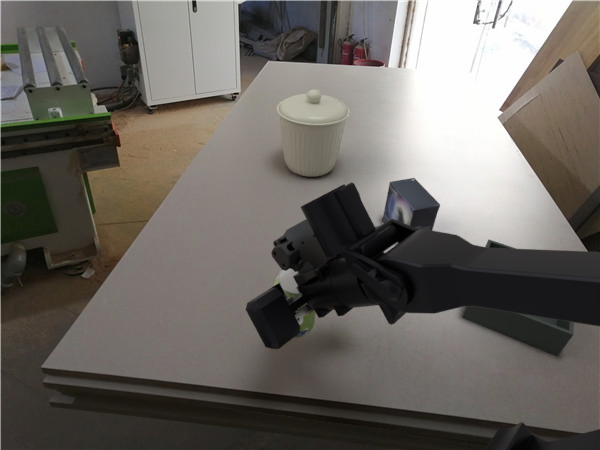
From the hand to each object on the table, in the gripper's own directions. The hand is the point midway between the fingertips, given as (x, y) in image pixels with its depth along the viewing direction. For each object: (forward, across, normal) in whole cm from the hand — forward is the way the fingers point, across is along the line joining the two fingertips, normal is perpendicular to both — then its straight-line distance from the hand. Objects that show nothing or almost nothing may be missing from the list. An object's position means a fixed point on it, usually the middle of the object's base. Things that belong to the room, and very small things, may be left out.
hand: (285, 294), depth 59 cm
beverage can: (+4, 0, +6) cm, 7 cm away
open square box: (-7, -37, +23) cm, 44 cm away
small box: (+11, -39, +5) cm, 41 cm away
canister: (+34, -42, -19) cm, 57 cm away
